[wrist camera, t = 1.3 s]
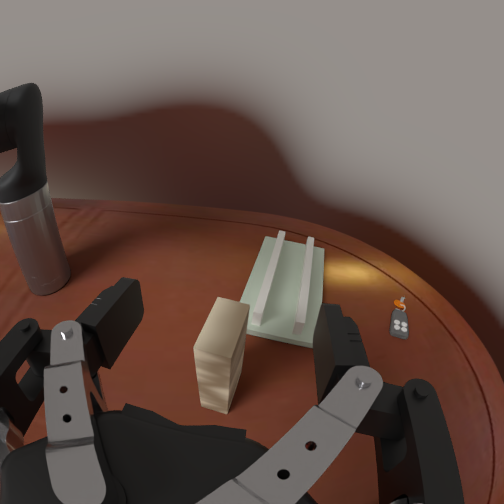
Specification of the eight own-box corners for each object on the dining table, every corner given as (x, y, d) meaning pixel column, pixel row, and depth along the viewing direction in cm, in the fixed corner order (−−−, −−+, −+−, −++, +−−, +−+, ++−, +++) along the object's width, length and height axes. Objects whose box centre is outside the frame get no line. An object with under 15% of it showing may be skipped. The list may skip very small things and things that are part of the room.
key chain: (407, 342, 37) (411, 336, 36) (387, 336, 38) (391, 330, 37) (406, 293, 47) (409, 287, 46) (389, 287, 48) (392, 281, 47)
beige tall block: (201, 406, 27) (193, 347, 20) (217, 365, 32) (218, 296, 25) (227, 414, 26) (231, 358, 19) (241, 372, 31) (250, 304, 24)
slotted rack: (316, 348, 35) (323, 332, 33) (230, 329, 37) (231, 312, 35) (323, 252, 54) (327, 238, 52) (265, 240, 56) (267, 225, 54)
